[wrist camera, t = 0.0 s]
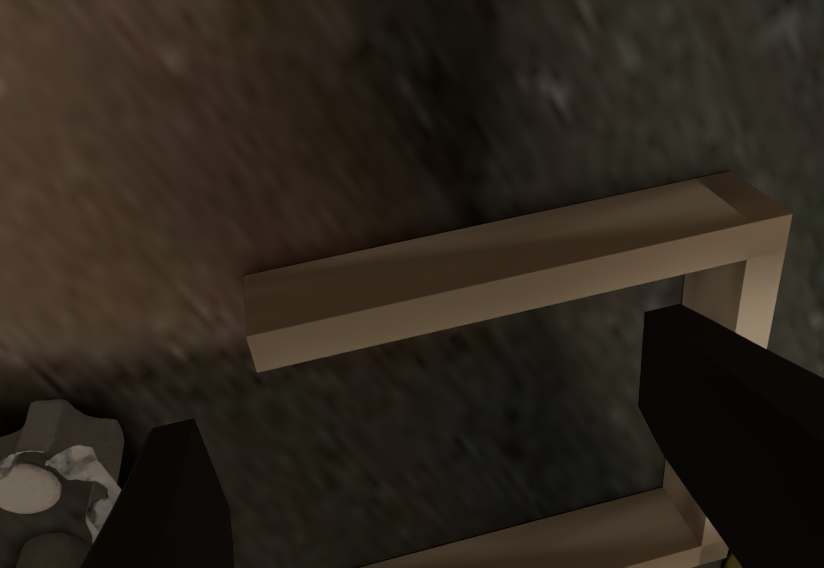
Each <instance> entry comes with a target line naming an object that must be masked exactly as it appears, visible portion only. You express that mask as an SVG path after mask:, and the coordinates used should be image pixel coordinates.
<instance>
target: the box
mask: <svg viewBox="0 0 824 568" xmlns="http://www.w3.org/2000/svg"><path fill="white" fill-rule="evenodd" d="M791 219H792V213H790V212H789V211H788V210H786V209H785V208H783V207H782V206H780V205H779V204H778V203H776V202H775V201H773V200H772V199H770V198H769V197H768V196H766V195H765V194H763V193H762V192H760V191H759V190H758V189H756V188H755V187H753V186H752V185H750V184H749V183H747V182H746V181H745V180H743V179H742V178H740V177H739V176H737V175H736V174H735V173H733V172H732V171H728V172H723V173H719V174H714V175H709V176H705V177H700V178H695V179H691V180H686V181H681V182H677V183H672V184H668V185H663V186H658V187H654V188H649V189H644V190H640V191H635V192H630V193H626V194H621V195H616V196H612V197H607V198H603V199H598V200H593V201H589V202H584V203H579V204H575V205H570V206H565V207H561V208H556V209H551V210H547V211H542V212H537V213H533V214H528V215H524V216H519V217H514V218H510V219H505V220H500V221H496V222H491V223H486V224H482V225H477V226H472V227H468V228H463V229H459V230H454V231H449V232H445V233H440V234H435V235H431V236H426V237H421V238H417V239H412V240H407V241H403V242H398V243H394V244H389V245H384V246H380V247H375V248H370V249H366V250H361V251H356V252H352V253H347V254H342V255H338V256H333V257H329V258H324V259H319V260H315V261H310V262H305V263H301V264H296V265H291V266H287V267H282V268H277V269H273V270H268V271H263V272H259V273H254V274H250V275H245V276H243V281H244V303H245V325H246V338H247V341H248V345H249V348H250V351H251V354H252V358H253V361H254V364H255V367H256V370H257V373H258V372H262V371H266V370H271V369H275V368H279V367H284V366H288V365H292V364H297V363H301V362H305V361H310V360H314V359H318V358H323V357H327V356H331V355H336V354H340V353H344V352H349V351H353V350H357V349H362V348H366V347H370V346H375V345H379V344H383V343H388V342H392V341H396V340H401V339H405V338H409V337H414V336H418V335H422V334H427V333H431V332H435V331H440V330H444V329H448V328H453V327H457V326H461V325H466V324H470V323H474V322H479V321H483V320H487V319H492V318H496V317H500V316H505V315H509V314H513V313H518V312H522V311H526V310H531V309H535V308H539V307H544V306H548V305H552V304H557V303H561V302H565V301H570V300H574V299H578V298H583V297H587V296H591V295H596V294H600V293H604V292H609V291H613V290H617V289H622V288H626V287H630V286H635V285H639V284H643V283H648V282H652V281H656V280H661V279H665V278H669V277H674V276H678V275H682V274H685V279H684V288H683V298H682V305H684V306H686V307H688V308H690V309H692V310H694V311H696V312H698V313H700V314H702V315H704V316H705V317H707V318H709V319H711V320H713V321H715V322H717V323H719V324H721V325H722V326H724V327H726V328H728V329H730V330H732V331H734V332H735V333H737V334H739V335H741V336H743V337H745V338H747V339H748V340H750V341H752V342H754V343H756V344H758V345H760V346H761V347H763V348H765V349H767V345H768V339H769V334H770V329H771V324H772V319H773V313H774V308H775V303H776V298H777V292H778V287H779V282H780V277H781V272H782V266H783V261H784V256H785V251H786V245H787V240H788V235H789V230H790V225H791ZM727 554H728V546H727V545H726V544H725V542H724V541H723V539H722V538H721V537H720V535H719V534H718V532H717V531H716V530H715V528H714V527H713V525H712V524H711V523H710V521H709V520H708V518H707V517H706V516H705V514H704V513H703V511H702V510H701V509H700V507H699V506H698V504H697V503H696V502H695V500H694V499H693V497H692V496H691V494H690V493H689V492H688V490H687V489H686V487H685V486H684V484H683V483H682V482H681V480H680V479H679V477H678V476H677V474H676V473H675V472H674V470H673V469H672V467H671V466H670V464H669V463H668V461H667V460H666V461H665V470H664V480H663V487H662V488H658V489H654V490H650V491H647V492H643V493H639V494H635V495H632V496H628V497H624V498H620V499H616V500H613V501H609V502H605V503H601V504H598V505H594V506H590V507H586V508H582V509H579V510H575V511H571V512H567V513H564V514H560V515H556V516H552V517H549V518H545V519H541V520H537V521H533V522H530V523H526V524H522V525H518V526H515V527H511V528H507V529H503V530H499V531H496V532H492V533H488V534H484V535H481V536H477V537H473V538H469V539H466V540H462V541H458V542H454V543H450V544H447V545H443V546H439V547H435V548H432V549H428V550H424V551H420V552H416V553H413V554H409V555H405V556H401V557H398V558H394V559H390V560H386V561H382V562H379V563H375V564H371V565H367V566H364V567H360V568H691V567H695V566H698V565H702V564H706V563H709V562H713V561H716V560H720V559H724V558H727Z"/></svg>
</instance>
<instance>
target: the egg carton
mask: <svg viewBox="0 0 824 568" xmlns="http://www.w3.org/2000/svg"><path fill="white" fill-rule="evenodd" d="M123 447H124V436H123V432H122V429H121V426H120V425H119V423H118V421H117V420H114V419H107V418H105V419H100V418H95V417H90V416H87V415H84V414H83V413H81V412H80V411H78V410H76V409H75V408H74V407H73V406H72V405H71V404H70V403H69V402H68V401H66V400H63V399H56V400H47V401H35V402H33V403H31V404H30V407H29V410H28V414H27V419H26V422H25V424H24V426H23V428H22V429H21V430H19V431H17V432H15V433H12V434H10V435H6V436H4V437H0V508H2V509H4V510H7V511H11V512H15V513H20V514H29V513H37V512H40V511H43V510H46V509H48V508H50V507H51V506H53V505H54V504H55V503H56V502H57V501H58V499H59V498H60V496H61V491H62V483H61V480H60V478H59V477H58V476H57V475H56V474H55V473H54V472H53V471H51V470H50V469H48V468H46V467H44V466H41V465H38V464H35V463H30V462H16V459H17V456H18V454H20V453H22V452H31V451H37V452H43V453H44V456H45V459H46V464H45V465H47V466H51V467H54V468H56V469H57V471H58V472H59V473H60V474H61V475H62V476H63V477H64V478H66V479H67V480H73V479H79V480H82V481H93V483H92V487H91V492H90V497H89V501H88V506H87V511H86V518H85V519H86V524H87V526H88V528H89V530H90V532H91V534H92V545H93V543H94V541H95V539H96V537H97V535H98V534H99V532H100V530H101V528H102V526H103V524H104V523H105V521H106V519H107V517H108V515H109V513H110V511H111V510H112V508H113V506H114V504H115V502H116V500H117V498H118V496H119V494H120V492H121V489H120V487H119V486H118V484H117V482H118V477H119V471H120V466H121V461H122V452H123ZM30 458H31V457H30ZM90 548H91V547H90V545H89V544H88V543H86V542H85V541H84V540H82V539H80V538H78V537H76V536H73V535H70V534H67V533H46V534H42V535H39V536H36V537H34V538H32V539H30V540H29V541H27V542H26V543H25V544H24V546H23V547H22V549H21V552H20V555H19V559H18V562H17V565H16V568H80V566H81V564H82V562H83V561H84V559H85V557H86V555H87V554H88V552H89V550H90Z"/></svg>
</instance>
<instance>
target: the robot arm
mask: <svg viewBox="0 0 824 568" xmlns="http://www.w3.org/2000/svg"><path fill="white" fill-rule="evenodd" d="M638 407H639V409H640V411H641V413H642V415H643V417H644V419H645V421H646V422H647V424H648V426H649V428H650V430H651V432H652V434H653V436H654V438H655V440H656V442H657V444H658V445H659V447H660V449H661V451H662V453H663V454H664V456H665V458H666V460H667V461H668V463H669V464H670V466H671V467H672V469H673V470H674V472H675V473H676V474H677V476H678V477H679V479H680V480H681V482H682V483H683V484H684V486H685V487H686V489H687V490H688V492H689V493H690V494H691V496H692V497H693V499H694V500H695V502H696V503H697V504H698V506H699V507H700V509H701V510H702V511H703V513H704V514H705V516H706V517H707V518H708V520H709V521H710V523H711V524H712V525H713V527H714V528H715V530H716V531H717V532H718V534H719V535H720V537H721V538H722V539H723V541H724V542H725V544H726V545H727V546H728V548H729V549H730V551H731V552H732V553H733V555H734V556H735V558H736V559H737V560H738V562H739V563H740V565H741V566H742V567H743V568H824V378H822V377H820V376H818V375H816V374H814V373H812V372H810V371H808V370H806V369H804V368H802V367H800V366H798V365H796V364H794V363H792V362H790V361H788V360H786V359H784V358H782V357H780V356H778V355H777V354H775V353H773V352H771V351H769V350H767V349H765V348H763V347H761V346H760V345H758V344H756V343H754V342H752V341H750V340H748V339H747V338H745V337H743V336H741V335H739V334H737V333H735V332H734V331H732V330H730V329H728V328H726V327H724V326H722V325H721V324H719V323H717V322H715V321H713V320H711V319H709V318H707V317H705V316H704V315H702V314H700V313H698V312H696V311H694V310H692V309H690V308H688V307H686V306H684V305H682V304H677V305H673V306H669V307H665V308H660V309H656V310H652V311H648V312H645V316H644V330H643V344H642V359H641V373H640V387H639V401H638ZM80 568H234V555H233V541H232V530H231V519H230V508H229V506H228V503H227V501H226V498H225V495H224V493H223V490H222V488H221V485H220V483H219V480H218V478H217V475H216V472H215V470H214V467H213V465H212V462H211V460H210V457H209V455H208V452H207V449H206V447H205V444H204V442H203V439H202V437H201V434H200V432H199V429H198V426H197V424H196V421H195V419H194V418H193V419H189V420H185V421H181V422H176V423H172V424H168V425H164V426H159V427H155V428H153V429H152V431H151V432H150V433H149V435H148V436H147V439H146V441H145V443H144V445H143V447H142V449H141V451H140V453H139V455H138V457H137V460H136V462H135V464H134V466H133V468H132V470H131V472H130V474H129V476H128V478H127V480H126V482H125V484H124V486H123V488H122V490H121V492H120V494H119V496H118V498H117V500H116V502H115V504H114V506H113V508H112V510H111V511H110V513H109V515H108V517H107V519H106V521H105V523H104V524H103V526H102V528H101V530H100V532H99V534H98V535H97V537H96V539H95V541H94V543H93V545H92V546H91V548H90V550H89V552H88V554H87V555H86V557H85V559H84V561H83V562H82V564H81V566H80Z"/></svg>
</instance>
